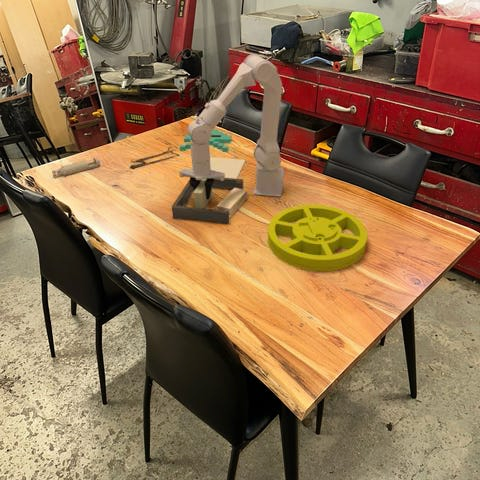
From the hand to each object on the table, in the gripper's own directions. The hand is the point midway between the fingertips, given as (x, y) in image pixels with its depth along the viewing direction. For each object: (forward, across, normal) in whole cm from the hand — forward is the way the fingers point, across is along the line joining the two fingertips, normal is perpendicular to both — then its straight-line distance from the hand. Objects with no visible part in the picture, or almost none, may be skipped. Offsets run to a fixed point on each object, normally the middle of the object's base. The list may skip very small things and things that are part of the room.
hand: (203, 197), depth 143 cm
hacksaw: (+2, -30, +31) cm, 43 cm away
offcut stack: (+2, +10, 0) cm, 10 cm away
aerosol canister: (+2, -54, +14) cm, 56 cm away
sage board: (+2, 0, 0) cm, 2 cm away
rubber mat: (+2, -1, +24) cm, 24 cm away
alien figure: (+3, -13, +50) cm, 52 cm away
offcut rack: (+2, +2, 0) cm, 3 cm away
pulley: (+2, +38, -15) cm, 41 cm away
